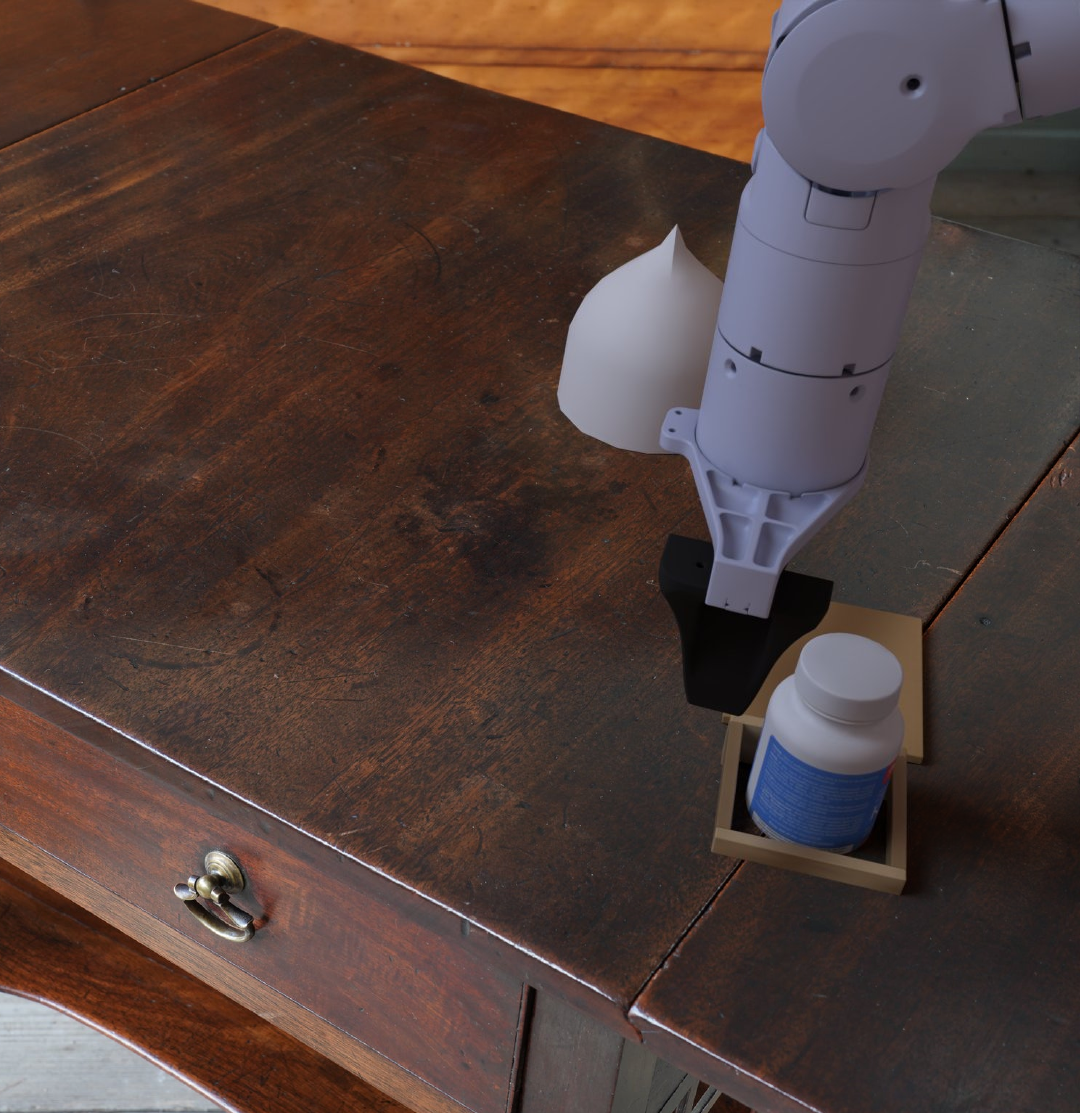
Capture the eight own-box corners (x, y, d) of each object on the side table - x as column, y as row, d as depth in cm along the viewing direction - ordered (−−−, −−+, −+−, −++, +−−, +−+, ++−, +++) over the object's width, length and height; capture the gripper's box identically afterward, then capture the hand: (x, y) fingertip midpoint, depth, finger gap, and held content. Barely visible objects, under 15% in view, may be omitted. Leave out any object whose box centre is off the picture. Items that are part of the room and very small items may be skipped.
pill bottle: (880, 880, 62) (942, 717, 56) (752, 878, 62) (800, 715, 56) (848, 783, 66) (902, 622, 60) (728, 780, 66) (769, 619, 60)
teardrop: (647, 476, 84) (679, 290, 77) (520, 390, 91) (537, 212, 83) (777, 414, 89) (819, 234, 82) (647, 337, 96) (674, 165, 88)
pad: (919, 625, 74) (922, 618, 74) (920, 765, 67) (923, 757, 67) (739, 591, 76) (741, 583, 76) (721, 722, 69) (723, 715, 69)
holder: (893, 785, 66) (907, 747, 64) (891, 918, 60) (906, 880, 59) (722, 749, 68) (731, 710, 66) (704, 875, 62) (714, 836, 60)
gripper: (720, 218, 54) (666, 509, 63) (638, 422, 44) (587, 737, 52) (918, 251, 52) (834, 546, 61) (882, 473, 42) (787, 792, 50)
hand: (732, 638), depth 57 cm, fingers open, 7 cm apart
